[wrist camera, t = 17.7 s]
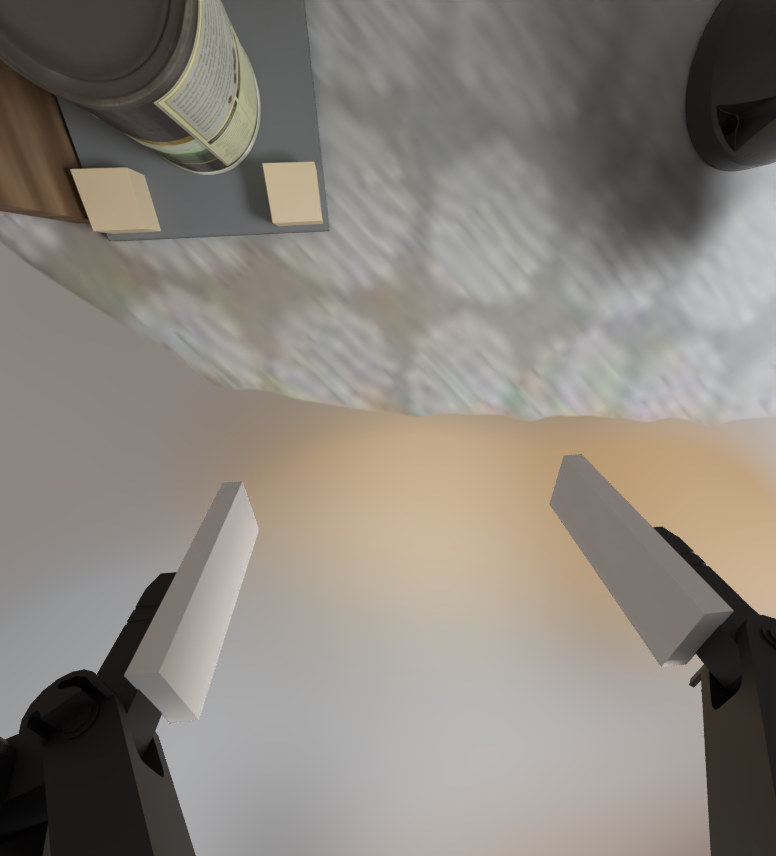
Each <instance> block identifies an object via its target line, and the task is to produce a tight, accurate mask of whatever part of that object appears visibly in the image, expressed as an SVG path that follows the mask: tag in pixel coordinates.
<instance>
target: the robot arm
mask: <svg viewBox="0 0 776 856" xmlns="http://www.w3.org/2000/svg"><path fill="white" fill-rule="evenodd" d="M687 122H688V128H689V132H690V136H691V139H692V142H693V144H694V146H695V148H696V150H697V152H698V153H699V154H700V156H701V157H702V158H703V159H704V160H705V161H706V162H707V163H709V164H710V165H712V166H714V167H716V168H718V169H721V170H725V171H741V170H746V169H750V168H755V167H759V166H763V165H767V164H771V163H774V162H776V0H722V1H721V3H720V4H719V6H718V8H717V9H716V11H715V13H714V14H713V16H712V18H711V20H710V22H709V24H708V26H707V28H706V30H705V32H704V34H703V37H702V39H701V41H700V44H699V47H698V49H697V52H696V55H695V58H694V62H693V65H692V69H691V74H690V78H689V84H688V91H687ZM550 506H551V507H552V509H553V510H554V511H555V513H556V514H557V516H558V517H559V519H560V520H561V522H562V523H563V525H564V526H565V528H566V529H567V530H568V532H569V533H570V535H571V536H572V538H573V539H574V541H575V542H576V544H577V545H578V546H579V548H580V549H581V551H582V552H583V554H584V555H585V557H586V558H587V560H588V561H589V562H590V564H591V565H592V567H593V568H594V570H595V571H596V573H597V574H598V576H599V577H600V579H601V580H602V581H603V583H604V584H605V586H606V587H607V588H608V590H609V592H610V593H611V595H612V596H613V597H614V599H615V600H616V602H617V603H618V605H619V606H620V608H621V609H622V611H623V612H624V613H625V615H626V616H627V618H628V619H629V621H630V622H631V624H632V625H633V627H634V628H635V629H636V631H637V632H638V634H639V635H640V637H641V638H642V640H643V641H644V643H645V644H646V646H647V647H648V648H649V650H650V651H651V653H652V654H653V656H654V657H655V659H656V660H657V662H658V663H659V664H660V666H661V667H667V666H675V665H684V664H687V663H688V662H689V661H690V660H691V658H692V657H693V656H694V655H695V654H697V655H698V657H699V658H700V659H701V661H702V662H703V663H704V665H703V666H702V667H701V668H700V669H699V670H698V671H697V672H696V674H695V675H694V676H693V677H692V678H691V680H690V683H689V685H690V686H692V687H695V686H696V685H697V684H698V683H699V682H700V681H701V682H702V683H701V684H702V690H701V691H702V703H703V720H704V738H705V756H706V774H707V775H706V776H707V794H708V812H709V830H710V847H711V856H776V619H775V618H771V617H768V616H764V615H759V614H758V613H757V612H756V611H755V610H753V609H752V608H751V607H750V606H749V605H748V604H747V603H746V602H745V601H744V600H743V599H742V598H741V597H740V596H739V595H738V594H737V593H736V592H735V591H734V590H733V589H732V588H731V587H730V586H728V584H727V583H725V581H724V580H722V579H721V578H720V577H719V576H718V575H717V574H716V573H715V572H714V571H713V570H712V569H711V568H710V567H709V566H706V563H705V562H704V561H703V560H702V559H701V558H700V557H699V556H698V555H695V554H694V551H693V550H692V549H690V547H688V545H686V543H684V542H683V540H681V539H680V538H679V537H678V536H676V535H674V534H673V533H671V532H669V531H668V530H667V529H665V528H663V527H652V526H651V525H650V524H649V523H648V522H647V521H646V520H645V519H644V518H643V517H642V516H641V515H640V514H639V513H638V512H637V511H636V510H635V509H634V508H633V507H632V506H631V504H629V502H628V501H627V500H626V499H625V498H624V497H623V496H622V495H621V494H620V493H619V492H618V491H617V490H616V489H615V488H614V487H613V486H612V485H611V484H610V483H609V482H608V481H607V480H606V479H605V478H604V477H603V476H602V475H601V474H600V473H599V472H598V471H597V470H596V469H595V468H594V467H593V465H592V464H591V463H590V462H589V461H588V460H587V459H586V458H585V457H584V456H583V455H582V454H579V455H566V456H564V457H563V460H562V464H561V467H560V470H559V474H558V477H557V481H556V484H555V487H554V491H553V494H552V498H551V501H550ZM258 531H259V529H258V526H257V523H256V520H255V517H254V514H253V511H252V508H251V505H250V503H249V500H248V497H247V494H246V491H245V488H244V485H243V482H242V481H241V482H229V483H222V485H221V487H220V489H219V491H218V493H217V495H216V497H215V499H214V501H213V503H212V505H211V507H210V509H209V510H208V512H207V514H206V516H205V518H204V520H203V522H202V524H201V526H200V528H199V530H198V532H197V534H196V536H195V538H194V540H193V542H192V544H191V546H190V548H189V550H188V552H187V554H186V556H185V558H184V560H183V561H182V563H181V565H180V567H179V569H178V571H177V572H174V573H163V574H160V575H159V576H158V577H157V578H156V579H155V580H154V581H153V582H152V583H151V584H150V585H149V586H148V587H147V588H146V590H145V591H144V593H143V595H142V596H141V598H140V600H139V602H138V603H137V605H136V609H135V610H133V612H132V614H131V616H130V617H129V619H128V621H127V622H128V623H127V625H125V626H124V628H123V629H122V631H121V633H120V635H119V637H118V638H117V640H116V642H115V643H114V645H113V647H112V649H111V650H110V652H109V654H108V656H107V657H106V659H105V661H104V663H103V665H102V666H101V668H100V670H99V671H98V673H97V675H96V674H95V673H94V672H92V671H88V670H79V671H74V672H71V673H69V674H67V675H65V676H63V677H61V678H59V679H57V680H56V681H55V682H54V683H52V684H51V685H50V686H48V687H47V688H46V689H45V690H43V691H42V692H41V694H40V695H39V696H38V697H37V698H36V699H35V700H34V701H33V703H32V704H31V705H30V706H29V708H28V710H27V712H26V713H25V715H24V717H23V718H22V721H21V725H20V730H19V734H17V735H14V736H12V737H10V738H8V739H3V738H1V737H0V856H196V855H195V852H194V849H193V846H192V843H191V839H190V836H189V833H188V830H187V826H186V823H185V820H184V817H183V814H182V810H181V807H180V804H179V801H178V797H177V794H176V791H175V788H174V785H173V781H172V778H171V775H170V772H169V769H168V765H167V762H166V759H165V756H164V753H163V749H162V746H161V743H160V740H159V736H158V735H157V734H156V732H155V730H156V727H157V725H158V722H159V720H160V717H161V715H162V716H163V717H164V718H165V719H166V720H167V721H168V722H169V723H176V722H185V721H193V720H199V717H200V714H201V711H202V708H203V705H204V702H205V699H206V695H207V692H208V689H209V686H210V682H211V680H212V676H213V673H214V670H215V667H216V664H217V661H218V657H219V654H220V651H221V648H222V645H223V642H224V638H225V635H226V632H227V629H228V626H229V623H230V619H231V616H232V613H233V610H234V607H235V604H236V600H237V597H238V594H239V591H240V588H241V584H242V581H243V578H244V575H245V572H246V569H247V566H248V562H249V559H250V556H251V553H252V549H253V546H254V543H255V540H256V537H257V534H258Z"/></svg>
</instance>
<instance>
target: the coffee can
mask: <svg viewBox="0 0 776 856" xmlns="http://www.w3.org/2000/svg"><path fill="white" fill-rule="evenodd" d="M0 59H1V60H2V61H4V62H5V63H6V64H7V65H8V66H10V67H11V68H12V69H14V70H15V71H16V72H18V73H19V74H21V75H22V76H23V77H25V78H27V79H28V80H30V81H31V82H33V83H34V84H36V85H38V86H39V87H41V88H43V89H44V90H46V91H48V92H50V93H52V94H54V95H56V96H58V97H60V98H62V99H64V100H67V101H70V102H71V103H73V104H75V105H77V106H78V107H80V108H81V109H83V110H85V111H87V112H88V113H90V114H92V115H93V116H95V117H96V118H98V119H100V120H102V121H104V122H105V123H107V124H109V125H110V126H112V127H114V128H115V129H117V130H119V131H120V132H122V133H124V134H125V135H127V136H129V137H130V138H132V139H134V140H135V141H137V142H139V143H140V144H142V145H144V146H145V147H147V148H149V149H150V150H152V151H154V152H156V153H157V154H159V155H160V156H162V157H163V158H164V159H166V160H167V161H169V162H170V163H172V164H173V165H175V166H177V167H179V168H181V169H183V170H186V171H188V172H192V173H196V174H201V175H215V174H220V173H224V172H227V171H229V170H231V169H233V168H235V167H236V166H238V165H239V164H240V163H241V162H242V161H243V160H244V159H245V158H246V157H247V155H248V154H249V152H250V151H251V149H252V147H253V145H254V143H255V140H256V138H257V134H258V131H259V127H260V113H261V105H260V95H259V89H258V85H257V81H256V77H255V74H254V71H253V68H252V66H251V63H250V61H249V58H248V56H247V54H246V52H245V51H244V49H243V47H242V46H241V44H240V42H239V40H238V37H237V35H236V33H235V31H234V29H233V26H232V24H231V22H230V20H229V18H228V16H227V13H226V11H225V9H224V6H223V4H222V2H221V0H0Z"/></svg>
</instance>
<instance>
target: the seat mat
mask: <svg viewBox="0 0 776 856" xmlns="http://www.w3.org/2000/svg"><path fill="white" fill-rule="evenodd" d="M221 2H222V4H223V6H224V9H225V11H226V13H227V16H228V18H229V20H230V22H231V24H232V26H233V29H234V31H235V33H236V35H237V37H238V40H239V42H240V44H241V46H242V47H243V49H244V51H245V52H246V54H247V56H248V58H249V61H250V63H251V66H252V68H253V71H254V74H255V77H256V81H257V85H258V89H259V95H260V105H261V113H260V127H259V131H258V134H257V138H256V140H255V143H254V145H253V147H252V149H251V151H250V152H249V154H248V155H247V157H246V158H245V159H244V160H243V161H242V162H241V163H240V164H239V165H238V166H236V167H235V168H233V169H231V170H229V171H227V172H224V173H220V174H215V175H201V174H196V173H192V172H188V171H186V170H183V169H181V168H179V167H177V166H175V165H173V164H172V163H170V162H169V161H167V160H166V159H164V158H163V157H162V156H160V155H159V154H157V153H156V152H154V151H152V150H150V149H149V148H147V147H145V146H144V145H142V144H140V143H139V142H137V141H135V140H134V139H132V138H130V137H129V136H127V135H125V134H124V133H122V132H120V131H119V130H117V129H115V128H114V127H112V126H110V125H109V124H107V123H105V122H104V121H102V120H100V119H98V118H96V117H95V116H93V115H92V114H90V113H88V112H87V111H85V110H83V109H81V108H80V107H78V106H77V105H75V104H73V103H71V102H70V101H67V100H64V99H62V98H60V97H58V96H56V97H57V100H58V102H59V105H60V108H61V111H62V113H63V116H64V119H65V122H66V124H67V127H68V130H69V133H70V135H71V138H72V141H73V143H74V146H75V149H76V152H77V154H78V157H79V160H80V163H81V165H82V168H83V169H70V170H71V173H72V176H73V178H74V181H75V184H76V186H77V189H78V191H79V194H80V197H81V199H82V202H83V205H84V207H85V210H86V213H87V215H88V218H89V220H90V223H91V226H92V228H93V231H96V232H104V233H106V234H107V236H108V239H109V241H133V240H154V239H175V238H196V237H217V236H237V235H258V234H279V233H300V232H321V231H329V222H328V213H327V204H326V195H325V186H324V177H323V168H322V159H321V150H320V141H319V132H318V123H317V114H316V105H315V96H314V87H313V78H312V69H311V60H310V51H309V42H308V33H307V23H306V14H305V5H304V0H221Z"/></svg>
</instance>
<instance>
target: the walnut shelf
mask: <svg viewBox="0 0 776 856" xmlns="http://www.w3.org/2000/svg"><path fill="white" fill-rule="evenodd" d="M70 169H83V168H82V165H81V163H80V160H79V157H78V154H77V152H76V149H75V146H74V143H73V141H72V138H71V135H70V133H69V130H68V127H67V124H66V122H65V119H64V116H63V113H62V111H61V108H60V105H59V102H58V100H57V97H56V95H54V94H52V93H50V92H48V91H46V90H44V89H43V88H41V87H39V86H38V85H36V84H34V83H33V82H31V81H30V80H28V79H27V78H25V77H23V76H22V75H21V74H19V73H18V72H16V71H15V70H14V69H12V68H11V67H10V66H8V65H7V64H6V63H5V62H4V61H2V60H1V59H0V211H4V212H11V213H17V214H23V215H30V216H36V217H43V218H49V219H55V220H62V221H68V222H74V223H90V220H89V218H88V215H87V213H86V210H85V207H84V205H83V202H82V199H81V197H80V194H79V191H78V189H77V186H76V184H75V181H74V178H73V176H72V173H71V170H70Z"/></svg>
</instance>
